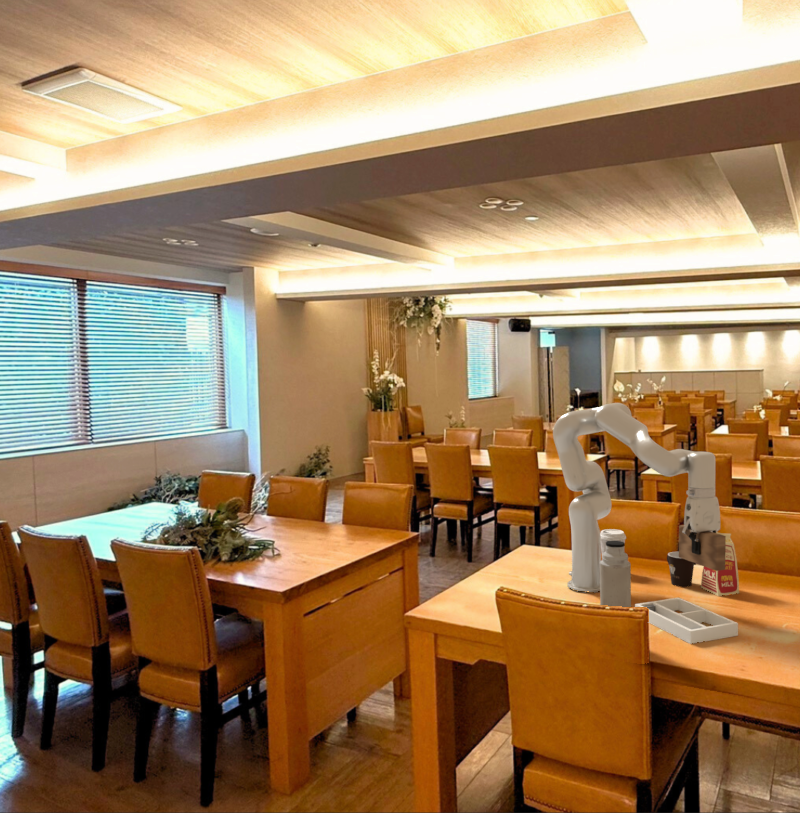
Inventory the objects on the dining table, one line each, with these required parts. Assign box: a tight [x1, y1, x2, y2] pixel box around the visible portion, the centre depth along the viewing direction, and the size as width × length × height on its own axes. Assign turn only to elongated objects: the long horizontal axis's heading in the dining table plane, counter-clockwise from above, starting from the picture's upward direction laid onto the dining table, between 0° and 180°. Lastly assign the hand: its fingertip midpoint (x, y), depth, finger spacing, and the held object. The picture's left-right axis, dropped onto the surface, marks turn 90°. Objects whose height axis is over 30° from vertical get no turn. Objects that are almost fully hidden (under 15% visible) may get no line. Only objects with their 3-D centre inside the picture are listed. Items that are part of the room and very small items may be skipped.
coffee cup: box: [600, 528, 627, 560], centre depth 264 cm, size 10×10×15 cm
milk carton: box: [700, 531, 740, 597], centre depth 241 cm, size 9×9×20 cm
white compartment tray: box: [634, 596, 739, 645], centre depth 212 cm, size 24×16×4 cm, turn 19°
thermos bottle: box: [599, 541, 632, 608], centre depth 199 cm, size 8×8×28 cm
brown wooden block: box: [678, 524, 726, 571], centre depth 222 cm, size 16×3×10 cm, turn 19°
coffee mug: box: [666, 551, 695, 588], centre depth 251 cm, size 12×9×10 cm
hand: (701, 552), depth 222 cm, fingers closed on brown wooden block, 3 cm apart
